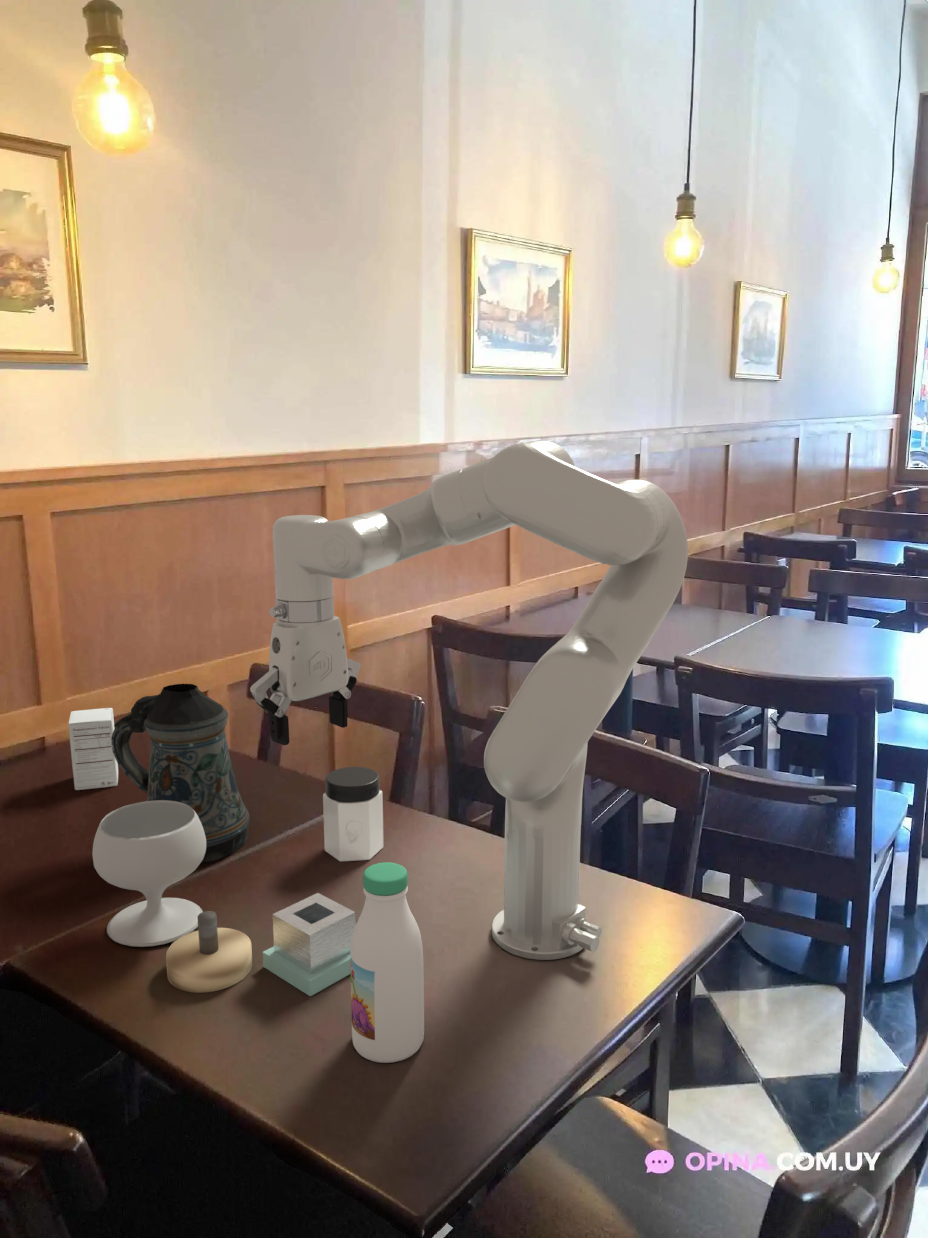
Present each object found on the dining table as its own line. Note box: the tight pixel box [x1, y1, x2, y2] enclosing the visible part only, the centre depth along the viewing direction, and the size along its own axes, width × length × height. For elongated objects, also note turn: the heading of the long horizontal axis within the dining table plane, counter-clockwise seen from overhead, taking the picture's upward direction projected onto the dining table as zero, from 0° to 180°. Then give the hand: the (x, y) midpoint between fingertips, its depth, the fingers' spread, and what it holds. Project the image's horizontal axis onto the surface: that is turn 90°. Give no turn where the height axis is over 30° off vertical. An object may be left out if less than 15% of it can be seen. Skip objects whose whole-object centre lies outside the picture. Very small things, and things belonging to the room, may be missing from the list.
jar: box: [322, 766, 384, 862], centre depth 147 cm, size 9×8×12 cm
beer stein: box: [111, 683, 250, 864], centre depth 148 cm, size 16×19×25 cm
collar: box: [272, 892, 357, 974], centre depth 117 cm, size 7×7×5 cm
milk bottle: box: [349, 861, 425, 1064], centre depth 102 cm, size 8×8×20 cm
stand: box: [262, 945, 351, 997], centre depth 118 cm, size 9×9×4 cm
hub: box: [165, 910, 253, 994], centre depth 117 cm, size 10×10×7 cm
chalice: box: [92, 800, 206, 948], centre depth 126 cm, size 14×14×15 cm
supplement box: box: [68, 707, 119, 791], centre depth 174 cm, size 7×7×13 cm
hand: (310, 733), depth 131 cm, fingers open, 9 cm apart
